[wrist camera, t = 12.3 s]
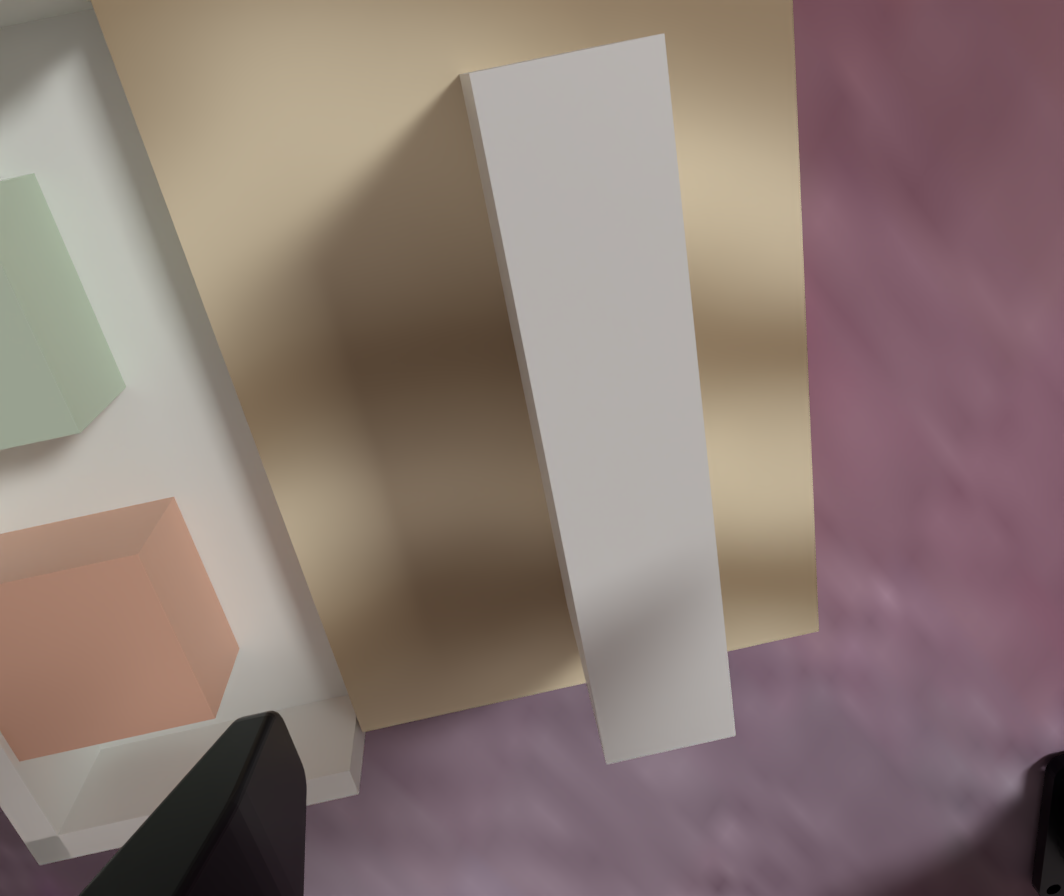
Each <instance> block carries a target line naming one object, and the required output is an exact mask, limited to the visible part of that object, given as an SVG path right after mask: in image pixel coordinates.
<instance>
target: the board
mask: <svg viewBox="0 0 1064 896" xmlns="http://www.w3.org/2000/svg"><path fill="white" fill-rule="evenodd" d="M91 3H92V6H93V8H94V11H95V14H96V16H97V19H98V22H99V24H100V27H101V30H102V33H103V35H104V38H105V41H106V43H107V46H108V49H109V51H110V54H111V57H112V59H113V62H114V65H115V68H116V70H117V73H118V76H119V78H120V81H121V84H122V86H123V89H124V92H125V94H126V97H127V100H128V103H129V105H130V108H131V111H132V113H133V116H134V119H135V121H136V124H137V127H138V129H139V132H140V135H141V138H142V140H143V143H144V146H145V148H146V151H147V154H148V156H149V159H150V162H151V164H152V167H153V170H154V173H155V175H156V178H157V181H158V183H159V186H160V189H161V191H162V194H163V197H164V199H165V202H166V205H167V208H168V210H169V213H170V216H171V218H172V221H173V224H174V226H175V229H176V232H177V234H178V237H179V240H180V243H181V245H182V248H183V251H184V253H185V256H186V259H187V261H188V264H189V267H190V269H191V272H192V275H193V278H194V280H195V283H196V286H197V288H198V291H199V294H200V296H201V299H202V302H203V304H204V307H205V310H206V313H207V315H208V318H209V321H210V323H211V326H212V329H213V331H214V334H215V337H216V339H217V342H218V345H219V348H220V350H221V353H222V356H223V358H224V361H225V364H226V366H227V369H228V372H229V374H230V377H231V380H232V383H233V385H234V388H235V391H236V393H237V396H238V399H239V401H240V404H241V407H242V409H243V412H244V415H245V418H246V420H247V423H248V426H249V428H250V431H251V434H252V436H253V439H254V442H255V444H256V447H257V450H258V453H259V455H260V458H261V461H262V463H263V466H264V469H265V471H266V474H267V477H268V479H269V482H270V485H271V488H272V490H273V493H274V496H275V498H276V501H277V504H278V506H279V509H280V512H281V514H282V517H283V520H284V523H285V525H286V528H287V531H288V533H289V536H290V539H291V541H292V544H293V547H294V549H295V552H296V555H297V558H298V560H299V563H300V566H301V568H302V571H303V574H304V576H305V579H306V582H307V584H308V587H309V590H310V593H311V595H312V598H313V601H314V603H315V606H316V609H317V611H318V614H319V617H320V619H321V622H322V625H323V628H324V630H325V633H326V636H327V638H328V641H329V644H330V646H331V649H332V652H333V654H334V657H335V660H336V663H337V665H338V668H339V671H340V673H341V676H342V679H343V681H344V684H345V687H346V690H347V692H348V695H349V698H350V700H351V703H352V706H353V708H354V711H355V714H356V716H357V719H358V722H359V725H360V727H361V730H362V732H367V731H371V730H376V729H380V728H385V727H389V726H394V725H398V724H403V723H407V722H412V721H416V720H421V719H425V718H430V717H434V716H439V715H443V714H448V713H452V712H457V711H461V710H466V709H470V708H475V707H480V706H484V705H489V704H493V703H498V702H502V701H507V700H511V699H516V698H520V697H525V696H529V695H534V694H538V693H543V692H547V691H552V690H556V689H561V688H565V687H570V686H574V685H579V684H583V683H586V680H585V676H584V672H583V668H582V664H581V659H580V655H579V651H578V647H577V643H576V639H575V635H574V631H573V627H572V623H571V619H570V615H569V611H568V607H567V602H566V597H565V592H564V587H563V582H562V577H561V572H560V567H559V562H558V557H557V553H556V548H555V543H554V538H553V533H552V528H551V523H550V518H549V513H548V508H547V503H546V498H545V494H544V489H543V484H542V479H541V474H540V469H539V464H538V459H537V454H536V449H535V444H534V439H533V435H532V430H531V425H530V420H529V415H528V410H527V405H526V400H525V395H524V390H523V385H522V381H521V376H520V371H519V366H518V361H517V356H516V351H515V346H514V341H513V336H512V331H511V326H510V322H509V317H508V312H507V307H506V302H505V297H504V292H503V287H502V282H501V277H500V272H499V267H498V263H497V258H496V253H495V248H494V243H493V238H492V233H491V228H490V223H489V218H488V213H487V208H486V204H485V199H484V194H483V189H482V184H481V179H480V174H479V169H478V164H477V159H476V154H475V149H474V145H473V140H472V135H471V130H470V125H469V120H468V115H467V110H466V105H465V100H464V95H463V90H462V86H461V81H460V76H459V74H463V73H468V72H473V71H478V70H483V69H487V68H492V67H497V66H502V65H507V64H512V63H517V62H522V61H526V60H531V59H536V58H541V57H546V56H551V55H556V54H561V53H565V52H570V51H575V50H580V49H585V48H590V47H595V46H600V45H605V44H610V43H616V42H621V41H626V40H631V39H637V38H642V37H647V36H652V35H658V34H663V33H664V34H665V44H666V54H667V64H668V74H669V83H670V93H671V103H672V113H673V123H674V133H675V142H676V152H677V162H678V172H679V182H680V192H681V201H682V211H683V221H684V231H685V241H686V251H687V261H688V270H689V280H690V290H691V300H692V310H693V320H694V329H695V339H696V349H697V359H698V369H699V379H700V388H701V398H702V408H703V418H704V428H705V438H706V448H707V457H708V467H709V477H710V487H711V497H712V507H713V516H714V526H715V536H716V546H717V556H718V566H719V575H720V585H721V595H722V605H723V615H724V625H725V634H726V644H727V651H732V650H736V649H741V648H745V647H750V646H754V645H759V644H763V643H768V642H772V641H777V640H781V639H786V638H790V637H795V636H799V635H804V634H808V633H813V632H817V631H819V623H818V599H817V575H816V551H815V527H814V503H813V479H812V455H811V431H810V407H809V383H808V359H807V335H806V311H805V287H804V263H803V239H802V215H801V191H800V167H799V143H798V119H797V95H796V71H795V47H794V23H793V0H91Z"/></svg>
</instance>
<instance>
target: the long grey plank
mask: <svg viewBox="0 0 1064 896" xmlns="http://www.w3.org/2000/svg"><path fill="white" fill-rule="evenodd" d="M459 76H460V81H461V86H462V90H463V95H464V100H465V105H466V110H467V115H468V120H469V125H470V130H471V135H472V140H473V145H474V149H475V154H476V159H477V164H478V169H479V174H480V179H481V184H482V189H483V194H484V199H485V204H486V208H487V213H488V218H489V223H490V228H491V233H492V238H493V243H494V248H495V253H496V258H497V263H498V267H499V272H500V277H501V282H502V287H503V292H504V297H505V302H506V307H507V312H508V317H509V322H510V326H511V331H512V336H513V341H514V346H515V351H516V356H517V361H518V366H519V371H520V376H521V381H522V385H523V390H524V395H525V400H526V405H527V410H528V415H529V420H530V425H531V430H532V435H533V439H534V444H535V449H536V454H537V459H538V464H539V469H540V474H541V479H542V484H543V489H544V494H545V498H546V503H547V508H548V513H549V518H550V523H551V528H552V533H553V538H554V543H555V548H556V553H557V557H558V562H559V567H560V572H561V577H562V582H563V587H564V592H565V597H566V602H567V607H568V611H569V615H570V619H571V623H572V627H573V631H574V635H575V639H576V643H577V647H578V651H579V655H580V659H581V664H582V668H583V672H584V676H585V680H586V684H587V688H588V692H589V696H590V700H591V704H592V708H593V712H594V716H595V720H596V724H597V728H598V732H599V737H600V741H601V745H602V749H603V753H604V757H605V761H606V765H607V764H612V763H616V762H621V761H625V760H630V759H634V758H639V757H643V756H648V755H652V754H657V753H661V752H665V751H670V750H674V749H679V748H683V747H688V746H692V745H697V744H701V743H706V742H710V741H715V740H719V739H724V738H728V737H733V736H736V733H735V723H734V713H733V703H732V694H731V684H730V674H729V664H728V654H727V644H726V634H725V625H724V615H723V605H722V595H721V585H720V575H719V566H718V556H717V546H716V536H715V526H714V516H713V507H712V497H711V487H710V477H709V467H708V457H707V448H706V438H705V428H704V418H703V408H702V398H701V388H700V379H699V369H698V359H697V349H696V339H695V329H694V320H693V310H692V300H691V290H690V280H689V270H688V261H687V251H686V241H685V231H684V221H683V211H682V201H681V192H680V182H679V172H678V162H677V152H676V142H675V133H674V123H673V113H672V103H671V93H670V83H669V74H668V64H667V54H666V44H665V34H664V33H663V34H658V35H652V36H647V37H642V38H637V39H631V40H626V41H621V42H616V43H610V44H605V45H600V46H595V47H590V48H585V49H580V50H575V51H570V52H565V53H561V54H556V55H551V56H546V57H541V58H536V59H531V60H526V61H522V62H517V63H512V64H507V65H502V66H497V67H492V68H487V69H483V70H478V71H473V72H468V73H463V74H459Z"/></svg>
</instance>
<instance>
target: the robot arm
mask: <svg viewBox="0 0 1064 896" xmlns="http://www.w3.org/2000/svg"><path fill="white" fill-rule="evenodd" d="M306 798H307V784H306V776H305V771H304V767H303V764H302V762H301V759H300V757H299V755H298V752H297V750H296V748H295V745H294V743H293V741H292V738H291V736H290V734H289V731H288V729H287V726H286V724H285V722H284V720H283V718H282V717H281V715H280V714H279V713H278V712H275V711H266V712H261V713H257V714H252V715H247V716H243V717H240V718H238V719H236V720H235V721H234V722H233V723H232V724H231V725H230V726H229V727H228V728H227V729H226V730H225V732H224V733H223V734H222V735H221V736H220V737H219V738H218V739H217V741H216V742H215V743H214V744H213V745H212V746H211V747H210V748H209V750H208V751H207V752H206V753H205V754H204V755H203V756H202V757H201V759H200V760H199V761H198V762H197V763H196V764H195V765H194V766H193V767H192V769H191V770H190V771H189V772H188V773H187V774H186V775H185V776H184V778H183V779H182V780H181V781H180V782H179V783H178V784H177V785H176V787H175V788H174V789H173V790H172V791H171V792H170V793H169V794H168V796H167V797H166V798H165V799H164V800H163V801H162V802H161V803H160V805H159V806H158V807H157V808H156V809H155V810H154V811H153V812H152V814H151V815H150V816H149V817H148V818H147V819H146V820H145V821H144V823H143V824H142V825H141V826H140V827H139V828H138V829H137V830H136V832H135V833H134V834H133V835H132V836H131V837H130V838H129V839H128V841H127V842H126V843H125V844H124V845H123V846H122V847H121V848H120V850H119V851H118V852H117V853H116V854H115V855H114V856H113V857H112V859H111V860H110V861H109V862H108V863H107V864H106V865H105V866H104V867H103V869H102V870H101V871H100V872H99V873H98V874H97V875H96V876H95V878H94V879H93V880H92V881H91V882H90V883H89V884H88V885H87V887H86V888H85V889H84V890H83V891H82V892H81V893H80V894H79V896H303V894H304V862H305V830H306ZM1032 885H1033V887H1034V888H1035V890H1036V891H1037V892H1038V894H1039V895H1040V896H1064V754H1063V755H1060V756H1057V757H1055V758H1054V759H1052V760H1051V761H1050V762H1049V763H1048V765H1047V767H1046V770H1045V778H1044V787H1043V795H1042V803H1041V811H1040V820H1039V828H1038V836H1037V844H1036V853H1035V861H1034V869H1033V878H1032Z"/></svg>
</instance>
